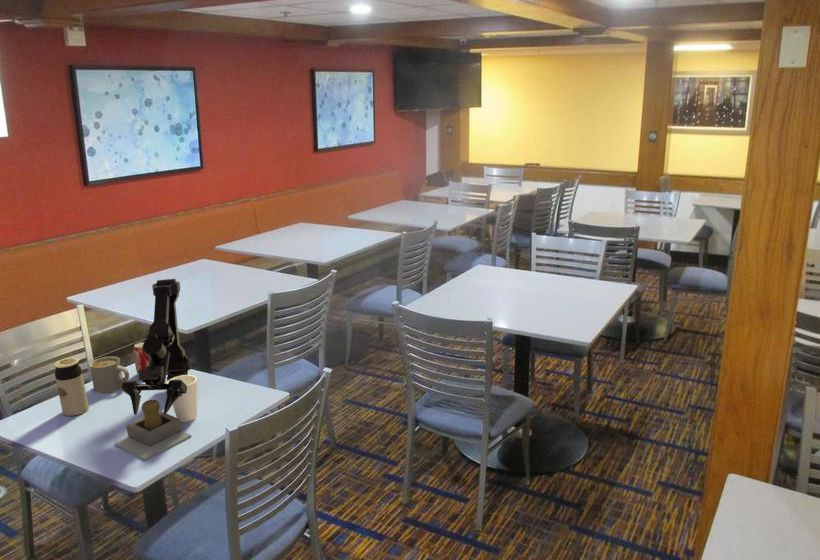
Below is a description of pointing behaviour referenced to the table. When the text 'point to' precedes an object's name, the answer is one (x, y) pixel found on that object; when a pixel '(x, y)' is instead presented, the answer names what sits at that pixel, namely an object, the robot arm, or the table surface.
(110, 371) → the coffee mug
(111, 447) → the table surface
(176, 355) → the robot arm
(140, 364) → the soda can
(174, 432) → the socket
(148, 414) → the cork
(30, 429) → the table surface
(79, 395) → the travel mug
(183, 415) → the foam cup
